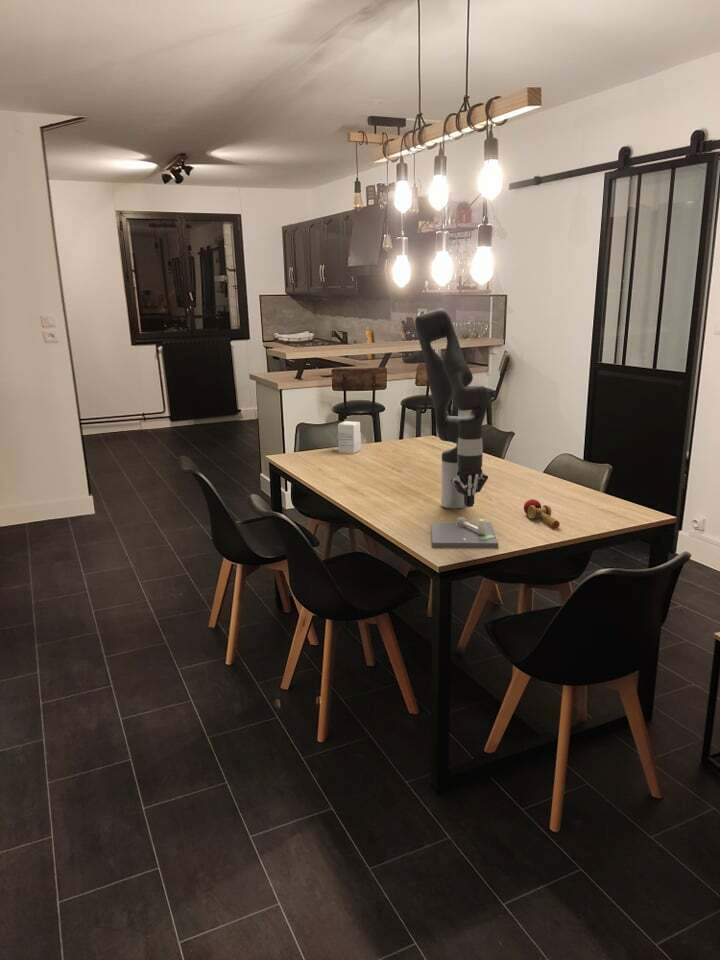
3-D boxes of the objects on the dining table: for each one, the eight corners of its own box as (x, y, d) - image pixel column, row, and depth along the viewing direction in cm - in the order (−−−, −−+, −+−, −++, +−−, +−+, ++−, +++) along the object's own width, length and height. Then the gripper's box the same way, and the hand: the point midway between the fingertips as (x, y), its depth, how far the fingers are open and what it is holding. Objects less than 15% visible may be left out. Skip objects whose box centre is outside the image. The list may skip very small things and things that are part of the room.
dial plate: (430, 526, 227) (430, 521, 227) (490, 526, 226) (491, 521, 225) (432, 547, 208) (432, 542, 208) (498, 547, 207) (498, 542, 206)
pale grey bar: (455, 523, 224) (455, 510, 223) (462, 522, 225) (462, 509, 224) (479, 535, 212) (480, 521, 211) (487, 534, 213) (488, 520, 212)
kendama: (567, 530, 224) (538, 508, 240) (566, 514, 222) (537, 493, 238) (546, 537, 223) (519, 514, 239) (545, 520, 220) (518, 498, 236)
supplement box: (345, 449, 348) (344, 420, 344) (361, 450, 344) (360, 421, 341) (338, 453, 340) (337, 423, 336) (354, 454, 336) (353, 424, 333)
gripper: (458, 457, 198) (458, 513, 203) (495, 451, 204) (493, 506, 208) (444, 452, 205) (444, 506, 209) (480, 446, 210) (479, 499, 215)
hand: (469, 506), depth 209 cm, fingers closed
